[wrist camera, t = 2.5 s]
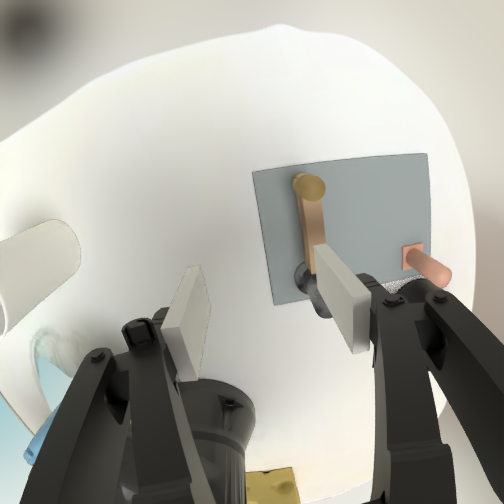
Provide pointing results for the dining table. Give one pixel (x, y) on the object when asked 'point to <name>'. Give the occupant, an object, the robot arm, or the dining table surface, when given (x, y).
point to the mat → (348, 217)
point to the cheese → (272, 487)
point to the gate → (310, 214)
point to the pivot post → (311, 289)
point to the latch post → (425, 265)
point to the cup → (34, 268)
